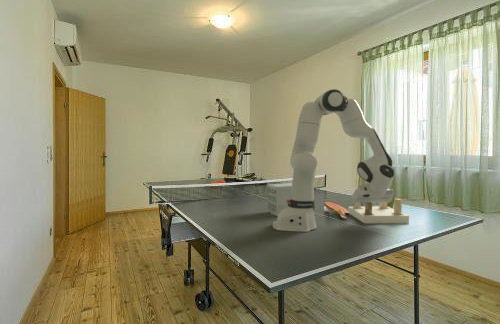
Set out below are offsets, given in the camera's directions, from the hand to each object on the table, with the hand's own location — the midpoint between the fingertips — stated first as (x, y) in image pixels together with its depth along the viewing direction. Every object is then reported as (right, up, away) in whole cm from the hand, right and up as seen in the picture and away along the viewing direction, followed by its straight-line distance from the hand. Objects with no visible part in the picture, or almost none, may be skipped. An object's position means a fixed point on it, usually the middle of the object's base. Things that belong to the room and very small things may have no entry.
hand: (367, 204), depth 152 cm
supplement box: (-44, -8, +20) cm, 49 cm away
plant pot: (+24, -8, +28) cm, 38 cm away
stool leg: (0, -8, 0) cm, 8 cm away
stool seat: (+8, -9, +8) cm, 14 cm away
